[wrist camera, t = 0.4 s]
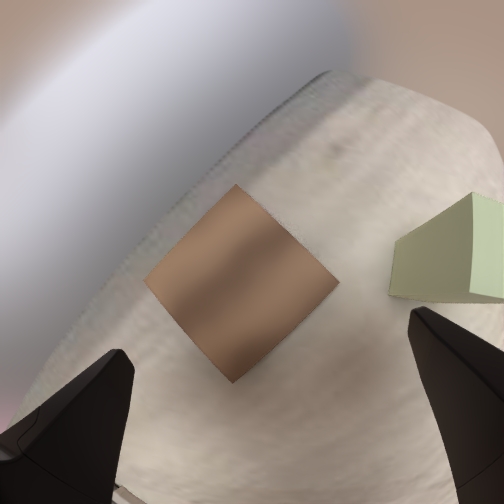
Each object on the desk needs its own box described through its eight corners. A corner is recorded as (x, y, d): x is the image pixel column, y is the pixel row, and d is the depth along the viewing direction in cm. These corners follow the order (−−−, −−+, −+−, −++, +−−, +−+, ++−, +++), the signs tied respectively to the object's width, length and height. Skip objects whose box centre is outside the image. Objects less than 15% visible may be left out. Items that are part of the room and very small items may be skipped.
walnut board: (336, 283, 21) (339, 282, 19) (238, 376, 21) (232, 383, 20) (241, 192, 24) (236, 183, 22) (154, 281, 24) (143, 280, 22)
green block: (439, 251, 20) (529, 214, 8) (433, 302, 20) (527, 303, 8) (395, 241, 21) (472, 191, 9) (388, 295, 20) (469, 292, 9)
